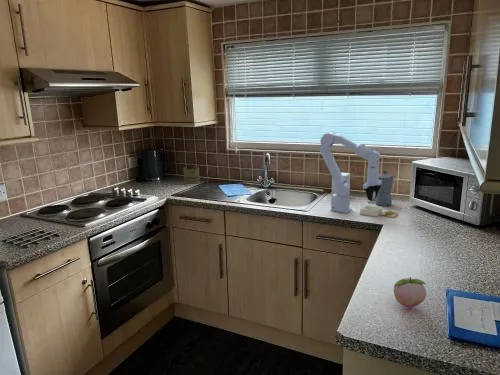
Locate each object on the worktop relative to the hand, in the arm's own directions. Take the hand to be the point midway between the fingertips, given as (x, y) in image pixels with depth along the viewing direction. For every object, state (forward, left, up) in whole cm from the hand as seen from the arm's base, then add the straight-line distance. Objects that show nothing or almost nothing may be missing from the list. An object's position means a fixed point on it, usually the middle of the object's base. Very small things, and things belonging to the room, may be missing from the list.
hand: (371, 199), depth 205 cm
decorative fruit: (+41, -84, -8) cm, 94 cm away
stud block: (+9, +2, -8) cm, 12 cm away
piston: (-136, +2, -8) cm, 136 cm away
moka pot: (0, +20, -8) cm, 22 cm away
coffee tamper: (0, 0, -2) cm, 2 cm away
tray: (0, 0, -8) cm, 8 cm away
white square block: (-27, +22, -8) cm, 36 cm away
